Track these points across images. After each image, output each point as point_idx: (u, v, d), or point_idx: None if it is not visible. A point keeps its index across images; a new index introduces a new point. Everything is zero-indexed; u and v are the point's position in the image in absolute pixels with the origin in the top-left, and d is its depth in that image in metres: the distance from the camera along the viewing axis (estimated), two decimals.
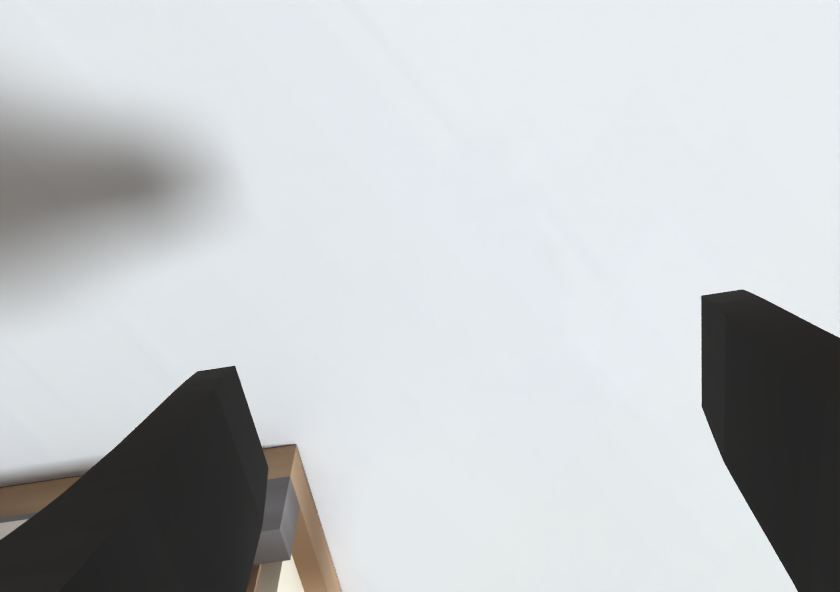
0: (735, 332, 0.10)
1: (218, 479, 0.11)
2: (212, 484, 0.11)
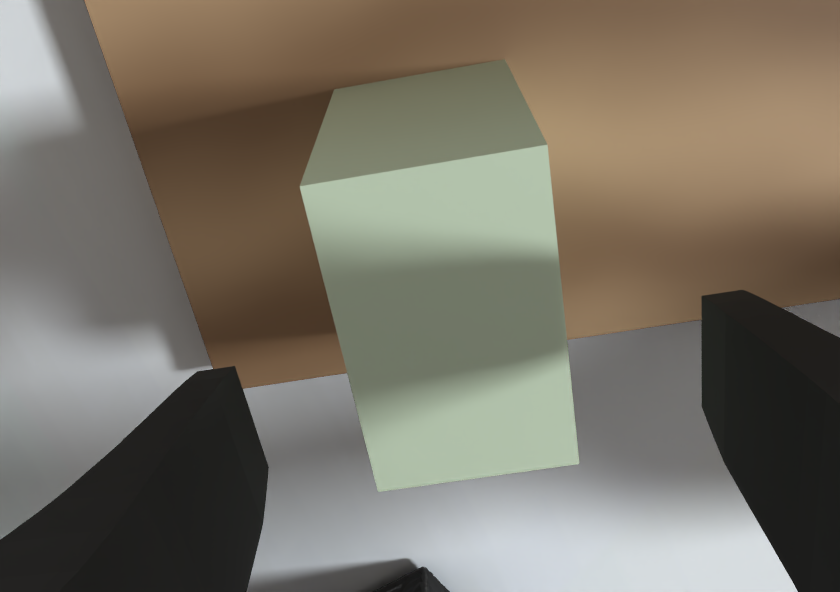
0: (735, 332, 0.10)
1: (218, 479, 0.11)
2: (212, 483, 0.11)
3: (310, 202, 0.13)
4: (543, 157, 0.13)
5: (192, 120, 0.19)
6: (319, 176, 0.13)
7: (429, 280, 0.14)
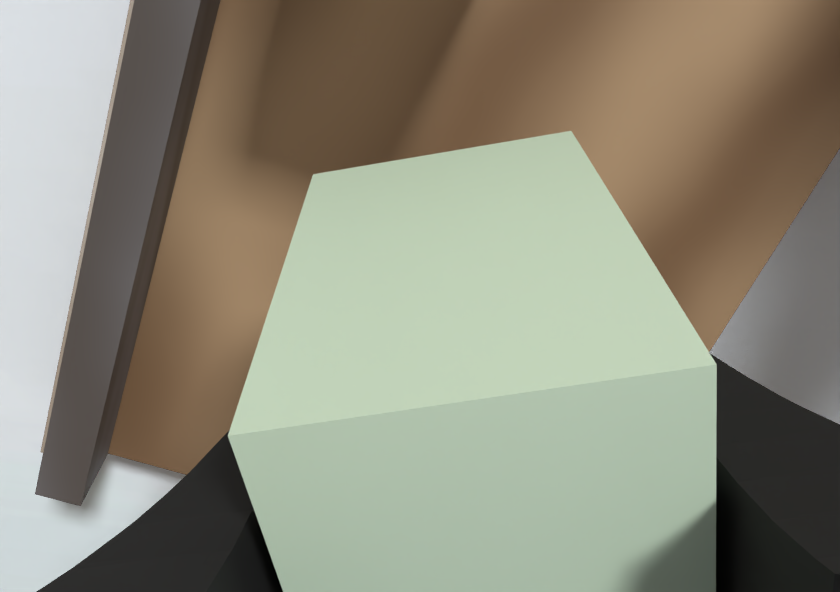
0: None
1: None
2: None
3: (250, 460, 0.07)
4: (706, 385, 0.06)
5: None
6: (268, 406, 0.07)
7: (473, 582, 0.07)
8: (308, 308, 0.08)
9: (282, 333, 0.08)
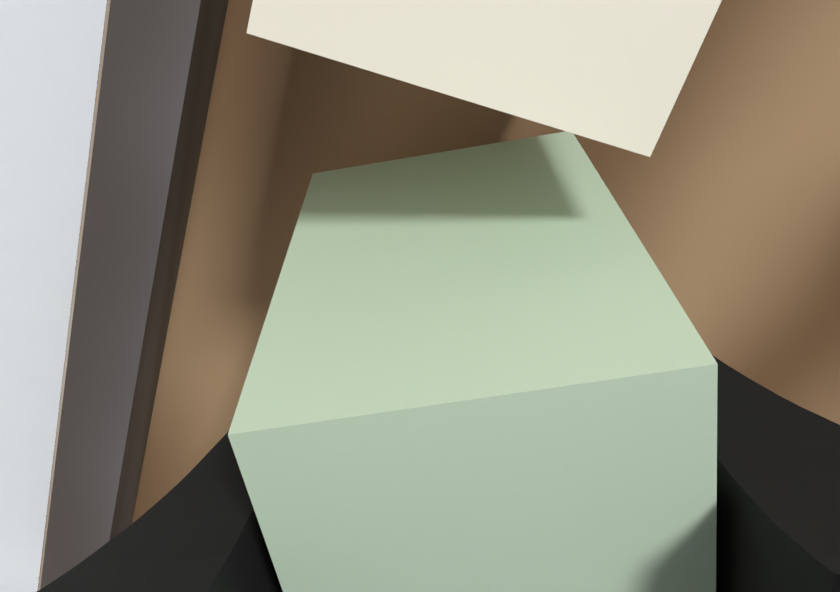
0: None
1: None
2: None
3: (250, 460, 0.07)
4: (706, 385, 0.06)
5: None
6: (268, 405, 0.07)
7: (473, 581, 0.07)
8: (308, 307, 0.08)
9: (282, 332, 0.08)
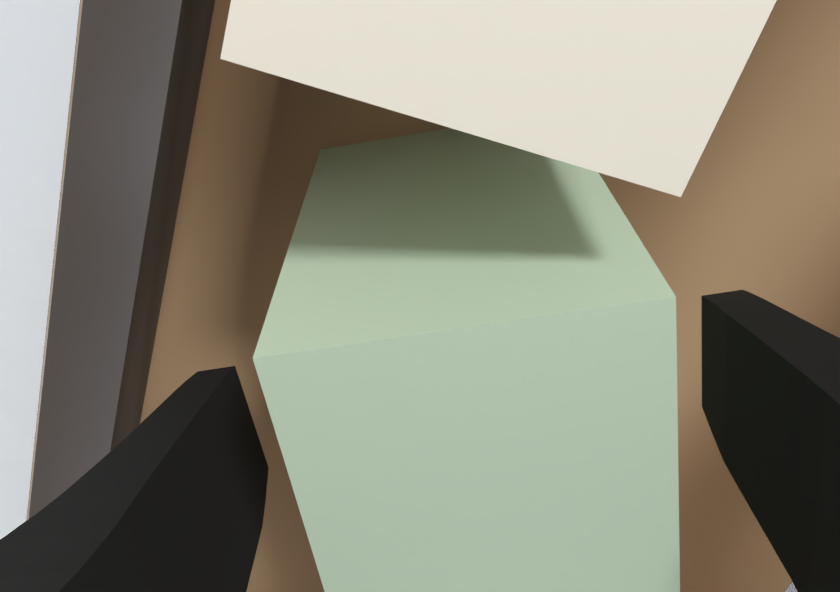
0: (735, 332, 0.10)
1: (218, 479, 0.11)
2: (212, 484, 0.11)
3: (271, 381, 0.08)
4: (667, 316, 0.07)
5: None
6: (287, 335, 0.08)
7: (465, 495, 0.08)
8: (320, 259, 0.09)
9: (297, 279, 0.09)
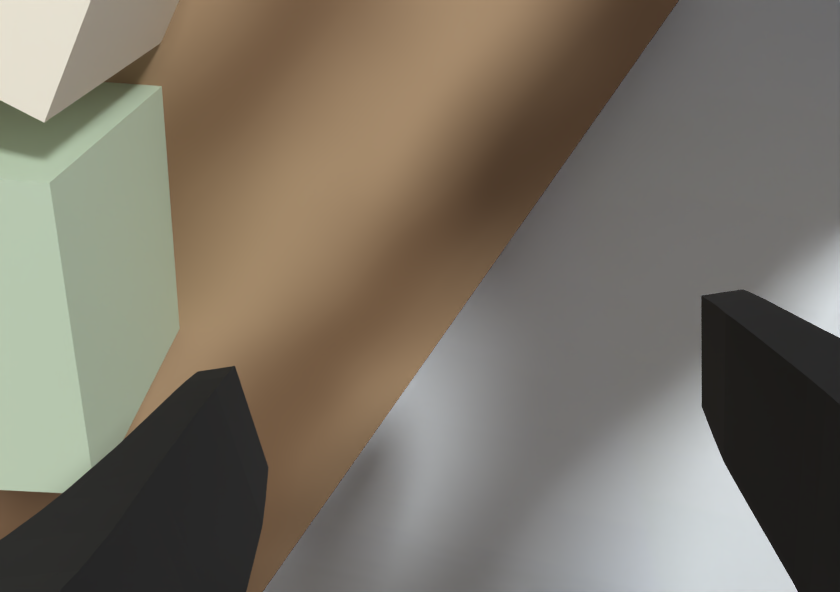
0: (735, 332, 0.10)
1: (218, 479, 0.11)
2: (212, 484, 0.11)
3: None
4: (46, 194, 0.13)
5: (29, 514, 0.25)
6: None
7: None
8: None
9: None
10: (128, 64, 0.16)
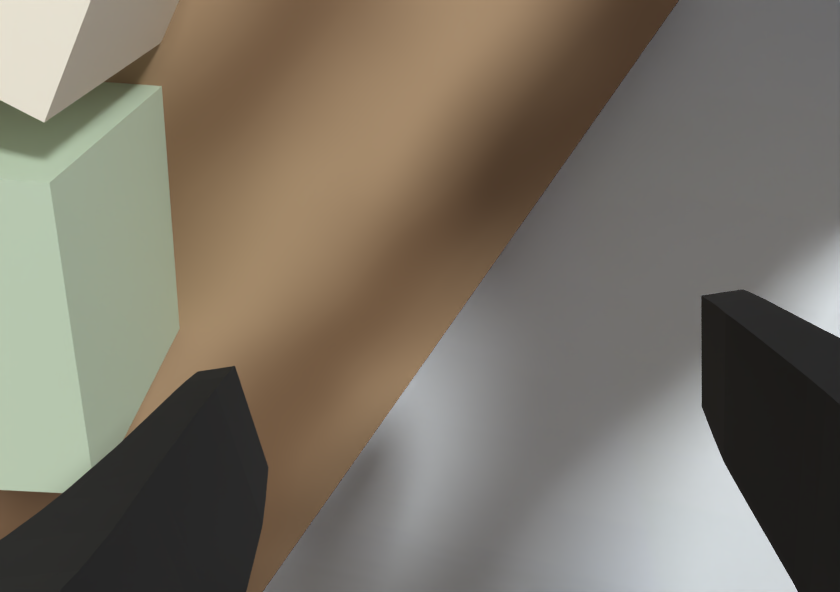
0: (735, 332, 0.10)
1: (218, 479, 0.11)
2: (212, 484, 0.11)
3: None
4: (46, 193, 0.13)
5: (29, 514, 0.25)
6: None
7: None
8: None
9: None
10: (128, 64, 0.16)
